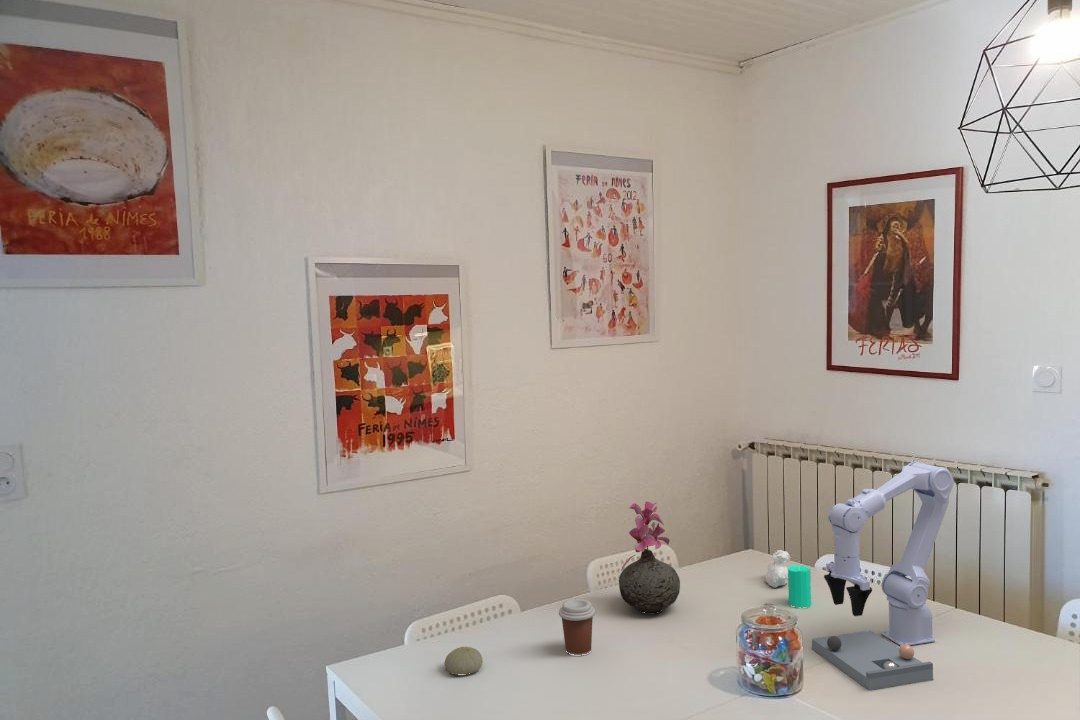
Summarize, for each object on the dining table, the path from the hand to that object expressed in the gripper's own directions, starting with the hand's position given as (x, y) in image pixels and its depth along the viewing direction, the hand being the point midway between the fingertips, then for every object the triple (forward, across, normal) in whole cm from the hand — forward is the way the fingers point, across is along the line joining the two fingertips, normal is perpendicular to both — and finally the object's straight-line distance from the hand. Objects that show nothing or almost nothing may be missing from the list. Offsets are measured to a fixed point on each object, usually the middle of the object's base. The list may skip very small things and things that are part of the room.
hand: (847, 609), depth 188 cm
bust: (+10, -46, +8) cm, 48 cm away
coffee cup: (+10, -20, -62) cm, 66 cm away
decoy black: (+6, +4, -6) cm, 10 cm away
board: (+10, +8, 0) cm, 13 cm away
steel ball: (+8, +15, +1) cm, 17 cm away
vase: (+10, -39, -36) cm, 54 cm away
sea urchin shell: (+10, -19, -91) cm, 94 cm away
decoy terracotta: (+6, +13, +6) cm, 15 cm away
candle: (+10, -29, +4) cm, 31 cm away
